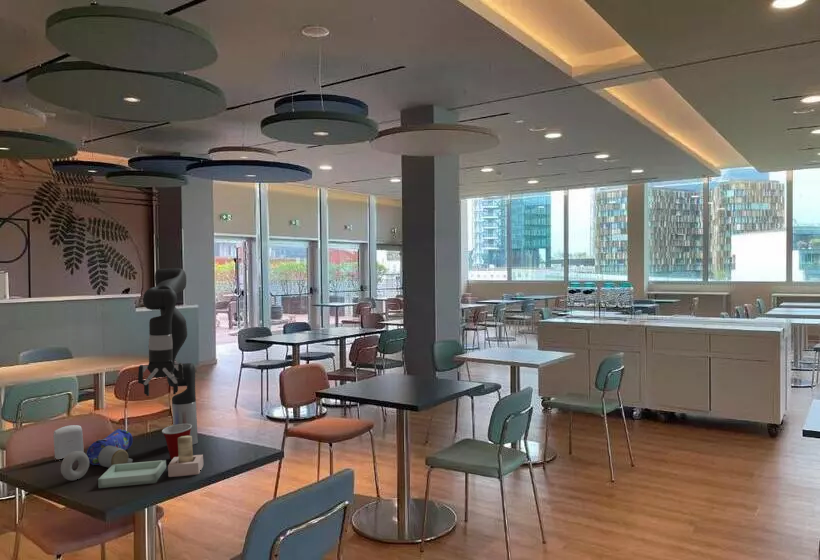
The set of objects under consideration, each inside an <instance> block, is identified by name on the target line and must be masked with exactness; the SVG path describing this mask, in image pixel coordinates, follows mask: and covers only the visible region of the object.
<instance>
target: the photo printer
mask: <svg viewBox="0 0 820 560" xmlns="http://www.w3.org/2000/svg"><path fill="white" fill-rule="evenodd" d="M83 437H84V435H83V428H82V426H81V425H76V424H75V425H74V424H73V425H71V424H70V425H66V426H62V427H59V428H56V429H55V430H53V448H54V449H53V450H54V459H55V458H56V459H62V458H65V457H66V456H67V455H68V454H69V453H71V452H73V451H82V452H84V451H85V450H84V438H83ZM84 453H85V452H84Z"/></svg>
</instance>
